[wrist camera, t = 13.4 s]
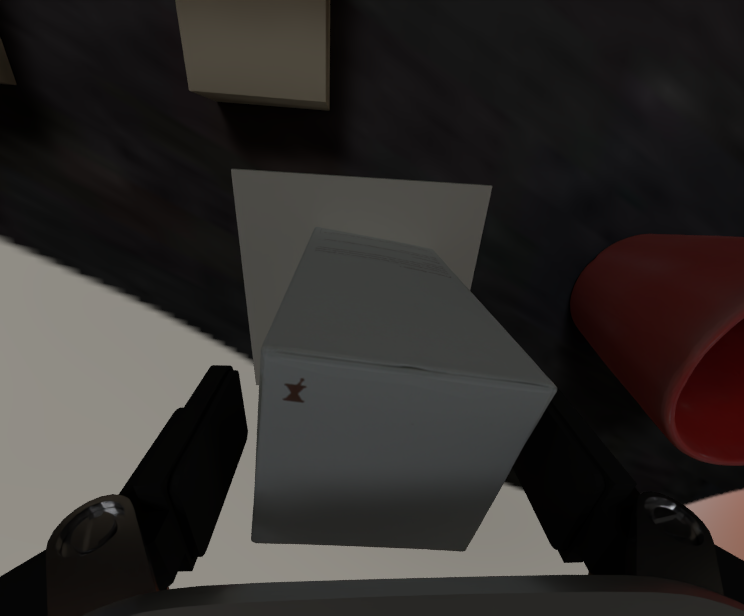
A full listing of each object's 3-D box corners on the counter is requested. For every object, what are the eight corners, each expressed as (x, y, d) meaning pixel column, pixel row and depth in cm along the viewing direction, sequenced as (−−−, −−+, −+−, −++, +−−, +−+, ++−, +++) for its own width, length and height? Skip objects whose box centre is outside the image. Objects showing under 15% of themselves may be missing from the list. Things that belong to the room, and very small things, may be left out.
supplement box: (298, 334, 21) (238, 549, 10) (314, 222, 18) (253, 341, 7) (406, 351, 22) (466, 560, 11) (438, 248, 19) (571, 388, 8)
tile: (234, 168, 17) (230, 169, 16) (488, 184, 18) (492, 185, 18) (258, 379, 23) (256, 385, 22) (447, 381, 24) (449, 386, 24)
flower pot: (547, 229, 20) (706, 290, 11) (727, 190, 19) (1041, 220, 10) (541, 366, 24) (649, 486, 15) (686, 337, 24) (881, 442, 15)
